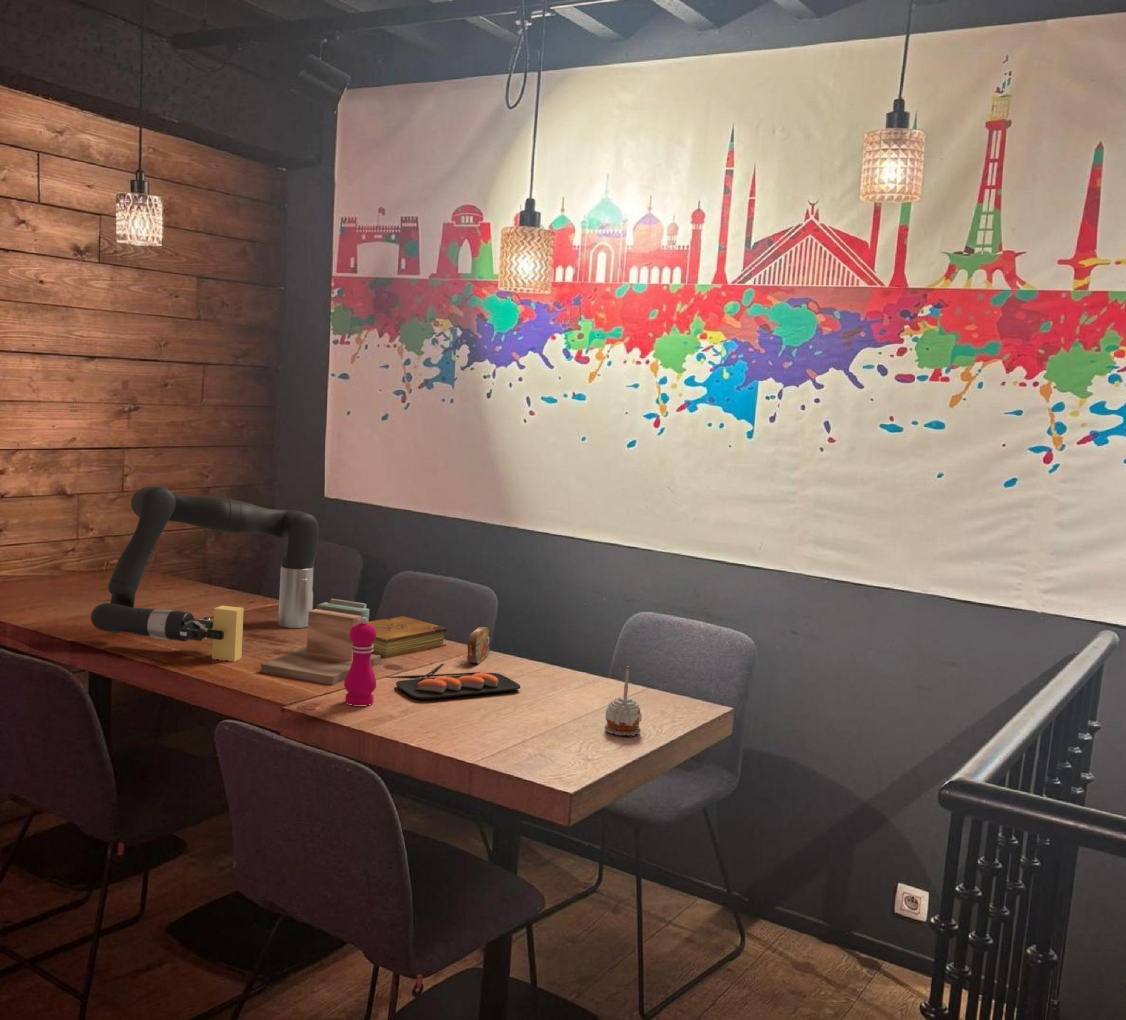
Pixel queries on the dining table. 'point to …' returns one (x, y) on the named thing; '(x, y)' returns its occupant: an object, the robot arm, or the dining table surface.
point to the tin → (479, 645)
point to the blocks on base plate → (324, 645)
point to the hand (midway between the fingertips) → (230, 631)
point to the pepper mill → (361, 665)
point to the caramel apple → (623, 714)
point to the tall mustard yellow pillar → (228, 633)
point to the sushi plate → (454, 684)
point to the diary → (405, 636)
